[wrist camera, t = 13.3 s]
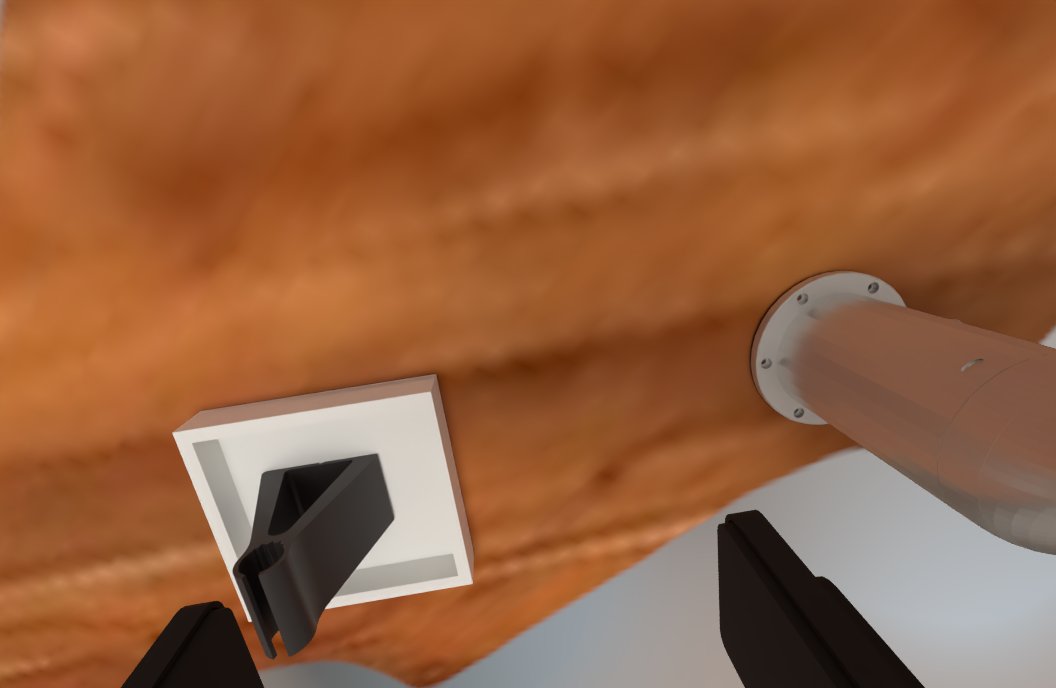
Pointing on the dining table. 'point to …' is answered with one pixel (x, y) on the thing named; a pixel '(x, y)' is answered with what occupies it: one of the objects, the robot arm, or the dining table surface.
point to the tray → (331, 434)
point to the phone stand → (309, 543)
